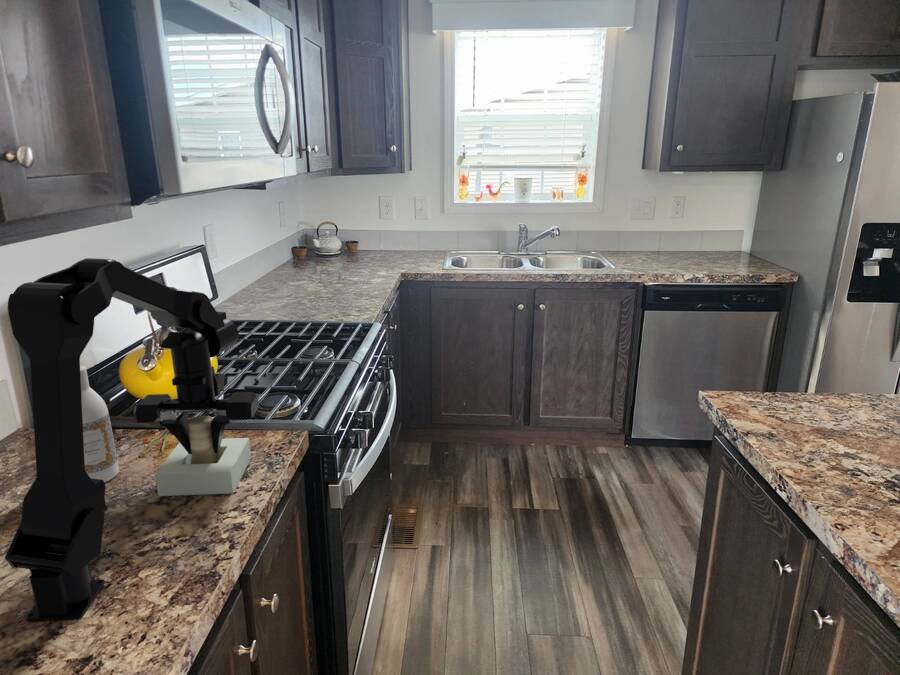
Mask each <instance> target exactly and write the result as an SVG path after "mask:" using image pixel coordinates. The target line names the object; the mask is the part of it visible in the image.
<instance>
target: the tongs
mask: <svg viewBox="0 0 900 675" xmlns="http://www.w3.org/2000/svg"><path fill="white" fill-rule="evenodd" d="M169 433H170V431H169V430H168V429H167V428H166V427H165V429H164V431H162V432H161V434H159V435H158V436H155V437H154V438H153V439H151V440H150V441H149V443H148V444H147V445H146V446H145V448H144V450H142V451H141V452H139V457H140V458H145V459H146V458H148V456H147V453H148V451H150V449H152V447H153V446H154V445H155V444H157V443H158V441H160V439H162V437H164V438H163V442H162V447H161V451H160V452H158V453H156V454H154V455H153V458H156V457H161V456H163V454H164V453H165V450H164V449H165V447H166V443H167V438H168V435H169Z"/></svg>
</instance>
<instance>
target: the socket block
mask: <svg viewBox="0 0 900 675" xmlns="http://www.w3.org/2000/svg"><path fill="white" fill-rule="evenodd" d="M217 456H218V463H211V464H193V460H192V454H189V453H188V452H187V451H186V450H185V448H184V447H183V446H182V445H181V443H180V442H179V441H178V444H177V445H176V446H175V448H174V449H173V450H172V451H171V453H170V454H169V455H168V456H167V458H166V460H165V461H164V462H163V463H162V464H161V466H160V467H159V468H158V470H157V471H156V473H155V474H154V477H155V483H156V490H157V495H158V497H169V496H195V495H196V496H197V495H198V496H199V495H200V496H201V495H220V494H221V495H222V494H223V495H224V494H225V495H226V494H234V492H235V491H236V489H237V487H238V485H239V483H240V481H241V479H242V477H243V475H244V473H245V471H246V469H247V467H248V465H249V463H250V462H251V458H252V453H251V444H250V438H249V437H238V438H236V437H235V438H234V437H233V438H222V441H221V445H220V449H219V452H218V453H217Z"/></svg>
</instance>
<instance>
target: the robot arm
mask: <svg viewBox="0 0 900 675" xmlns="http://www.w3.org/2000/svg"><path fill="white" fill-rule="evenodd" d="M112 298H114V299H116V300H119V301H121V302H124V303H127V304H130V305H133V306H134V307H138V308H141V309H143V310H145V311H147V312H149V313H150V316H151V318H152V319H153V320H154V321H156V322H157V323H159V324H160V325H161V326H163V327H165V328H166V327H167V328H181V329H182V328H183V329H185V330H181V331H169V332H168V333H167V335H166V337H165V338H164V339H163V340H162V342H161V344H160V347H161V349H168V350H170V354H171V355H170V356H171V362H172V363H171V364H172V368H173V374H174V377H173V378H172V379H171V383H172V386H175V389H176V397H177V400H172V397H171V396H170V395H169V394H167V393H162V394H161V393H155V394H146V396H145V397H144V398H143V399H141V400H140V401H139V403H137V404H136V406H135V407H134V409H133V417H134V422H136V424H143V423H144V424H145V423H146V424H147V423H150V424H151V423H155V422H156V420H158V418H160V421H159V423H158V424H159V427H163V428H165V429H166V428H167V429H168V430H169V433H170V434H172V435H173V436H174V438H175V439H176V440H177V441H178V443H179V442H180V443H181V445H182V446H183V447H184V448H185V450H186V451H187V452H188V453H189V454H192V453H191V446H190V440H189V433H188V426H187V421H188V420H189V414H190V413H207V412H209V413H210V412H213V414H214V417H212V419H213V420H212V421H211V422H210V425H211V433H212V441H213V448H214V451H215V453H218V452H219V449H220V445H221V441H222V439H223V438H224V437H223V436H224V433H225V428H226V427H227V425H229V424H231V422H232V421H246V420H250V419H253V417H254V416H255V414H256V412H257V410H258V408H259V407H260V402H259V401H260V400H259V396H258V395H257V393H255V392H254V391H238V392H233V393H232V394H231V396H230V397H229V398H222V399H216V397H219V396H220V395H221V392H224V391H225V373H216V371H215V368H214V366H212V361H211V358H214V357H217V356H218V355H220V354H222V353H223V352H226V351H227V350H228V349H231V348H233V347H234V346H235V345H236V344H237V343H238V340H239V337H240V332H239V329H237V326H236V325H235V323H234V322H233V321H232V320H231V319H229V318H227V312H225V311H217V310H216V309H215V306H214V305H213V304H212V303H211V301H210V298H209V297H208V295H207V294H205V293H204V292H200V291H194V290H188V289H187V290H186V289H178V288H171V287H170V286H168V285H166V284H163V283H161V282H159V281H157V280H154V279H152V278H150V277H148V276H147V275H144V274H142V273H139V272H138V271H135V270H133V269H131V268H128V267H127V266H125V265H124V264H123V263H121V262H120V261H117V260H116V259H112V258H96V257H95V258H91V257H90V258H88V257H87V258H83V259H82V260H81V259H80V260H78V261H77V262H76V263H74V264H72V265H71V266H69V267H66V268H64V269H61V270H58V271H55V272H52V273H49V274H47V275H43V276H41V277H39V278H38V279H36V280H34V281H33V282H32V281H29V282H25V283H22V284H21V285H19V286H17V287H16V289H15V290H14V292H13V293H10V294H9V297H8V300H7V312H8V318H9V322H10V326H11V331H12V335H13V337H14V339H15V340H16V341H17V343H18V345H20V347H21V349H22V350H23V352H24V353H25V355H26V356H27V357H28V359H29V362H30V378H31V379H30V381H31V398H32V415H33V416H32V417H33V432H34V435H33V436H34V449H35V453H34V454H35V465H36V466H35V467H36V469H35V470H36V477H35V478H34V480H33V482H32V483H31V485H30V487H29V488H28V489H27V492H26V494H24V495H25V496H24V497H23V501H22V502H23V503H22V508H21V509H22V510H21V521H20V523H19V525H18V527H17V530H16V532H15V534H14V536H13V539H12V540H11V543H10V545H9V547H8V549H7V552H6V554H5V556H4V559H5V561H6V562H7V563H8V564H9V566H11V567H12V568H13V569H14V568H15V569H18V568H19V569H26V570H29V571H30V572H29V573H30V576H29V577H28V578H29V581H30V586H31V591H32V594H33V598H34V602H35V604H34V606H33V607H32V608H31V609H30V611H29V612H28V613H27V614H26V615H25V619H26V622H40V621H58V620H59V621H60V620H62V621H63V620H77V619H81V618H82V617H83V616H84V614H85V613H86V611H87V610H88V609H89V607H90V606H91V605H92V603H93V602H94V600H95V599H96V597H97V596H98V595H99V593H100V591H101V590H102V588H103V587H104V586H105V584H106V583H105V580H104V579H92V573H91V568H90V563H91V562H92V561H93V560H94V559H96V558H97V557H98V556H99V555H100V554H101V552H102V542H103V530H104V520H105V519H104V518H105V512H107V511H108V506H107V503H106V498H105V496H106V484H105V483H106V482H104V481H103V480H101V479H92V478H90V477H89V475H88V474H87V473H86V471H85V463H84V441H83V420H82V398H81V377H80V366H81V361H80V359H81V356H82V354H83V353H84V351H85V349H86V347H87V346H88V344H89V342H90V341H91V339H92V337H93V335H94V329H95V328H94V327H95V318H96V317H97V316H98V315H100V314H101V313H102V312H103V311H105V310H106V309H107V308H109V306H110V305H111V303H112ZM104 511H105V512H104Z"/></svg>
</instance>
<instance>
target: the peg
mask: <svg viewBox="0 0 900 675" xmlns="http://www.w3.org/2000/svg"><path fill="white" fill-rule="evenodd" d="M212 420H213V416H210V415H198V416H195V417H191V418H190V419H189V418H188V421H187V426H188V433H189V440H190V446H191V453H192V460H193V464H211V463H218V456H217V453H215V451H214V448H213V441H212V433H211V425H210V422H211V421H212Z"/></svg>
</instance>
